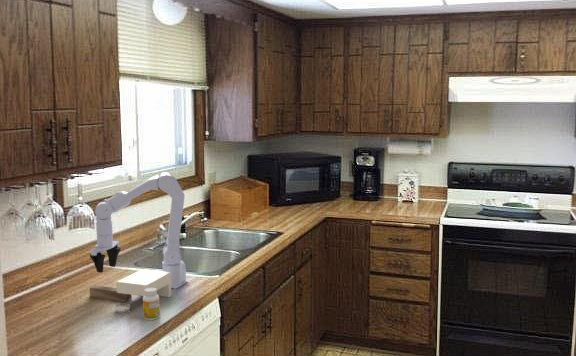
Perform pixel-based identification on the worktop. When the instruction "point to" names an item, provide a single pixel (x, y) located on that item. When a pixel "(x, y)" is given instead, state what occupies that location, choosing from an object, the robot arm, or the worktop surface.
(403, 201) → the worktop surface
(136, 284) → the cream step stool
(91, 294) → the tan long block
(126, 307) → the clear glass cup
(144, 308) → the supplement bottle
